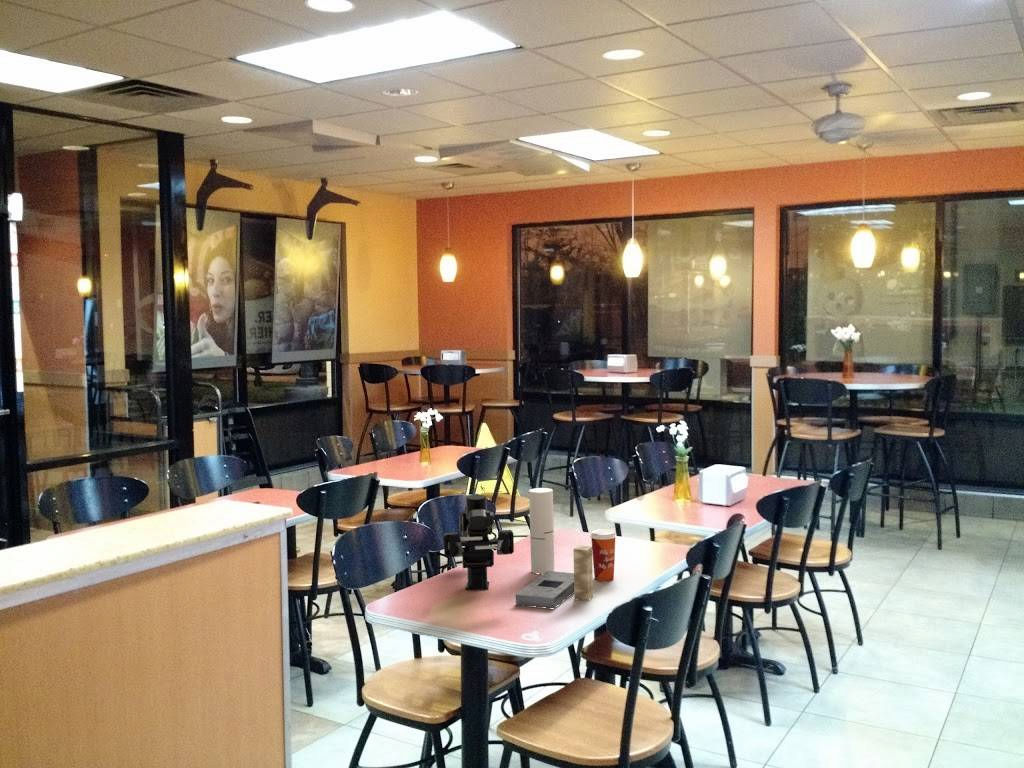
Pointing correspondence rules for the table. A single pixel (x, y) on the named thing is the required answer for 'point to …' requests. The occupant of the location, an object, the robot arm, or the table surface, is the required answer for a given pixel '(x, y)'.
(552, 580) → the socket plate
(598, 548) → the paper cup
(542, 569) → the cylindrical container
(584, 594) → the maple peg
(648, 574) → the table surface
